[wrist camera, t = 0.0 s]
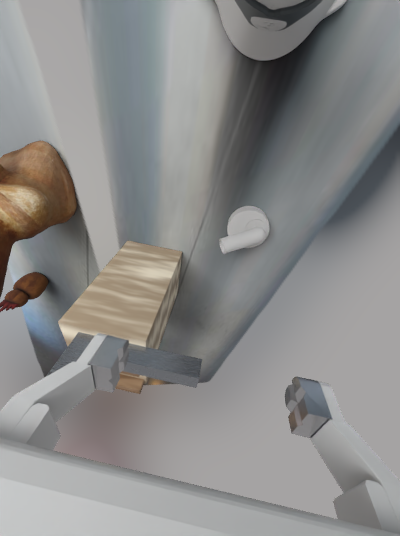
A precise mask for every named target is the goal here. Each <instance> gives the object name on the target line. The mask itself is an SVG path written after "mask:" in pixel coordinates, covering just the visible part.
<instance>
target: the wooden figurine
mask: <svg viewBox="0 0 400 536" xmlns="http://www.w3.org/2000/svg"><path fill="white" fill-rule="evenodd" d="M47 285H48V279H47V278H46V277H45V276H44V275H42V274H40V273H37V272H33V273H29V274H27V275H25V276H23V277H22V278H20V279H19V280H18V281H17V282H16V283H15V284H14V287H13V289H14V290H12V291H10V292H8V293H7V294H6V296H5V300H3V301H2V302H1V303H0V307H2V306H3V307H2V308H1V309H0V312H1V311H3V310H4V309H5V308H6V311H7V310H9V309H10V308H11V309H14V308H15V307H21V306H23V305H25V304H26V303H27V302H28V299H35V298H37V297H39V296H40V295H41V294H42V293H43V291H44V290H45V289H46V287H47Z"/></svg>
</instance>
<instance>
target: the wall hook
mask: <svg viewBox="0 0 400 536" xmlns="http://www.w3.org/2000/svg"><path fill="white" fill-rule="evenodd" d="M227 233H228V236H227V237H224V238H221V239H219V244H220V247H221V250H222V252H223V253H224V254H226V253H229V252H232V251H235V250H238V249H241V248H252V247H256V246H258V245H260V244H261V243H262V242H264V240H265V239H266V238H267V236H268V234H269V222H268V218H267V216H266V214H265V213H264V212H263V211H262V210H261V209H259V208H257V207H254V206H244V207H241V208H239V209H237V210H236V211H234V212H233V213H232V215H231V216H230V218H229V221H228V227H227Z"/></svg>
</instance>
